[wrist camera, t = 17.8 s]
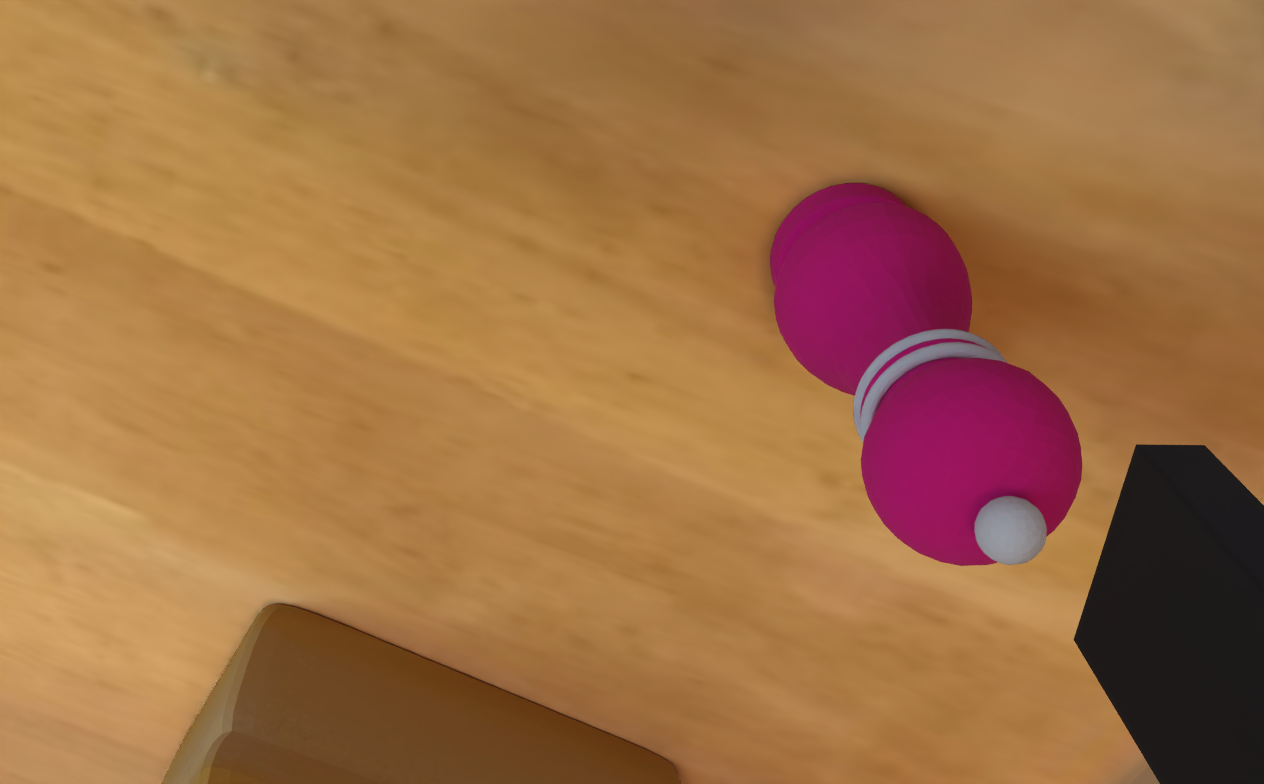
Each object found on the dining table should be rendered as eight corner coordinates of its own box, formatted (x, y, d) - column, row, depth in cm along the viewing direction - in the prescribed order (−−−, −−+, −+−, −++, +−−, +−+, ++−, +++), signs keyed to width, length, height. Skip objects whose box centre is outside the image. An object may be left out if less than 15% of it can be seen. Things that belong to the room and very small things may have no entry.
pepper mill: (841, 363, 47) (1002, 699, 29) (721, 264, 44) (820, 569, 27) (966, 244, 44) (1223, 533, 27) (847, 132, 42) (1046, 373, 24)
